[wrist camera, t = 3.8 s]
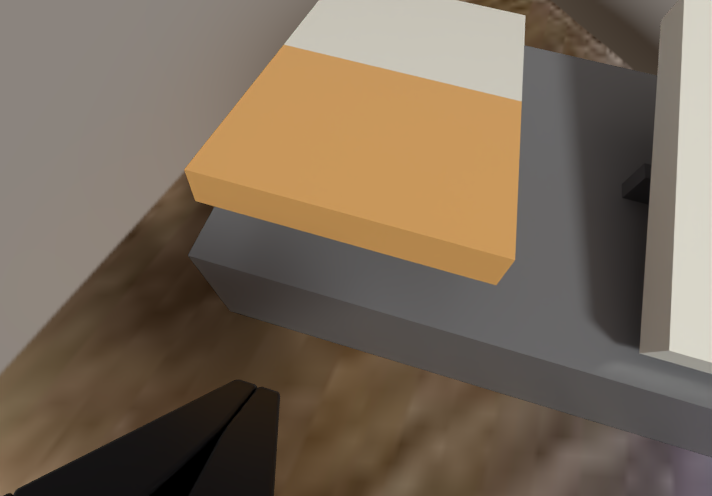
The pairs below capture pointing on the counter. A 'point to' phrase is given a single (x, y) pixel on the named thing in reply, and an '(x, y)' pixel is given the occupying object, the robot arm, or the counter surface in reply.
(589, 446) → the counter surface
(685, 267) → the rocker plain
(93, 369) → the counter surface
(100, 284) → the counter surface
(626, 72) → the switch strip
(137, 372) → the counter surface
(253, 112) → the orange and white panel
